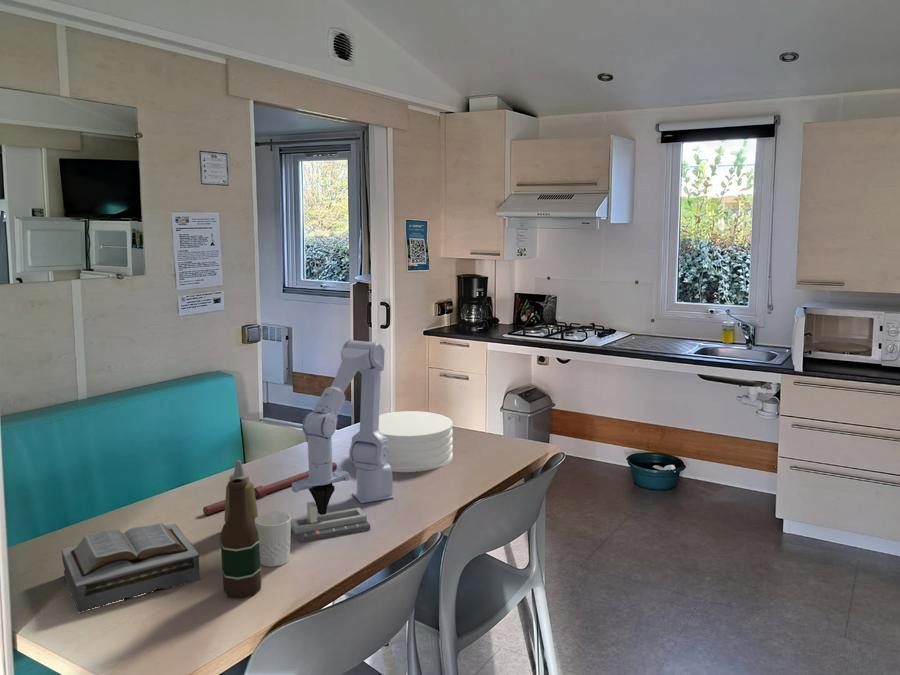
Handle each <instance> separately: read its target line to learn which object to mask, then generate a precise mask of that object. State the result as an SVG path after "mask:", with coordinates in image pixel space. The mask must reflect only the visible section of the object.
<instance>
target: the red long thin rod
mask: <svg viewBox="0 0 900 675" xmlns="http://www.w3.org/2000/svg"><path fill="white" fill-rule="evenodd" d="M337 469H338V464H337V463H336V462H335V461H334V462H333V461H332V472H334V471H336V470H337ZM307 477H309V470H308V471H304V472H302V473H298V474H296V475H293V476H290V477H288V478H284V479H281V480H278V481H275V482H273V483H269V484H267V485H264V486H263V485H259V486H256V487H254V492H255V498H256V499H257V498H259V499H260V498H264V497H266V495H267V494H268V495H269V494H271V493H274V492H276V491H277V492H278V491H279V490H281V489H284V488H287V487H290V486H291V487H292V483H294V482H297V481H300V480H302V479H305V478H307ZM225 500H226V499H224V500H221V501H218V502H215V503H212V504H209V505H206V506H203V508H202V513H203V515H205V516H209V515H211V514H214V513H217V512H219V511H224V510H225Z"/></svg>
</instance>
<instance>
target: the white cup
mask: <svg viewBox="0 0 900 675" xmlns="http://www.w3.org/2000/svg"><path fill="white" fill-rule="evenodd" d="M291 519H292V517H291V515H290V514H289V513H288V512H284V511H269V512H265V513H262V514H258V517H256V518H255V526H256V528H257V531H258V536H259V548H260V565H262V566H263V567H264V566H265V567H268V568H269V567H280V566H283V565H285V564H287V563H288V562H289V561H290V559H291V556H290V555H291V552H290V551H291V539H292V538H291V535H292V532H291Z"/></svg>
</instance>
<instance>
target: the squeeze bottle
mask: <svg viewBox="0 0 900 675" xmlns="http://www.w3.org/2000/svg"><path fill="white" fill-rule="evenodd" d="M228 478H229V481H231V480H233V479H244V480H245V482H246V485H247V486H245V491H246V499H247V508H248V514H249V517H250V519H251V520H252V521H253V523H254V524H255V518H256V517H258V516H259V512H258V506H257V500H256V499H257V498H255V492H254V488H255V487H254V483H253V482H252V481H250V474H249V473H247V472H245V470H244V467H243V463H242V461H241V460H236V461H235V465H234V472H233V474H230V475H229V477H228ZM224 500H225V509H224V523H226V521H227V519H228V514H229V488H228V484H227V485H226V488H225V499H224Z"/></svg>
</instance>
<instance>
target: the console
mask: <svg viewBox="0 0 900 675" xmlns="http://www.w3.org/2000/svg"><path fill="white" fill-rule="evenodd" d="M306 518H307V516H304V517H303V516H302V517H298V518H291V531H292V532H291V534H292V535H293V536H294V538H295V539H296V541H297V543H305V542H311V541H315V540H316V541H317V540H321V538H322V539H327V538H332V537H331V536H333V537H336V535H338V536H342V535H341V534H343V535H347V533H349V534H354V533H359V532H358V531H360V532H362V530H365V531H369V530H368V529H370V530H371V524H370V523H369V522H368V516H367V514H366V513H365V512H364V511H363V510H362V508H360V507H355V508H350V509H343V510H337V511H331V512H326V514H324V515H320V514H319V513H318V514H317V518H318V519H319V520H320V522H317V523H312V524H306V525H305V519H306ZM353 532H354V533H353ZM326 537H327V538H326Z"/></svg>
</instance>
